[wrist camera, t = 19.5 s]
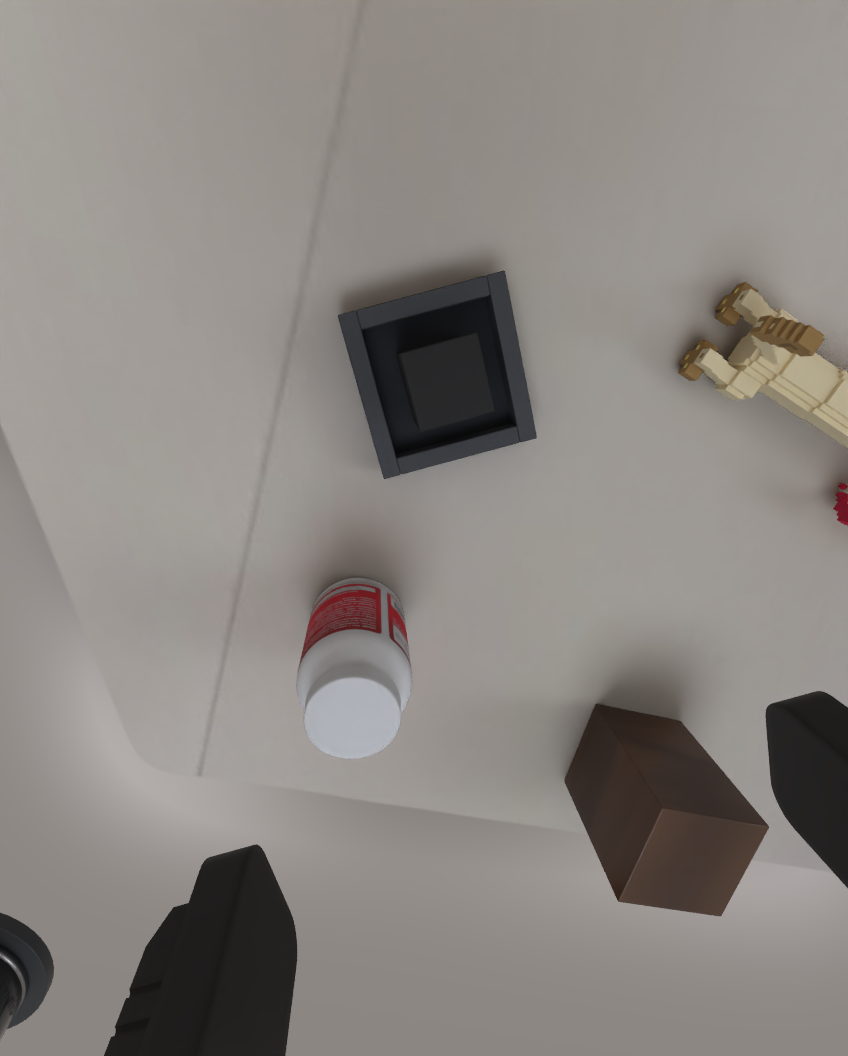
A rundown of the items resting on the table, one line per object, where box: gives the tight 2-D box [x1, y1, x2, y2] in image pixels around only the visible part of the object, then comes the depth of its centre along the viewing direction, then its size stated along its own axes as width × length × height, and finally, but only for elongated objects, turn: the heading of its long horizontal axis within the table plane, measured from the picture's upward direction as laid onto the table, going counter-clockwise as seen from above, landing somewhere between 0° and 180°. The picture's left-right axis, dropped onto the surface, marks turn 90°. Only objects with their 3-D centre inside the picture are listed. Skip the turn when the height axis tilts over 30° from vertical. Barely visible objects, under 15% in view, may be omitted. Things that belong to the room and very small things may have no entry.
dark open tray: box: [338, 271, 537, 479], centre depth 33 cm, size 9×9×2 cm
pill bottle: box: [297, 578, 412, 759], centre depth 32 cm, size 6×6×11 cm
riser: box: [565, 704, 769, 916], centre depth 38 cm, size 7×7×10 cm
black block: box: [397, 333, 494, 432], centre depth 31 cm, size 4×4×4 cm
